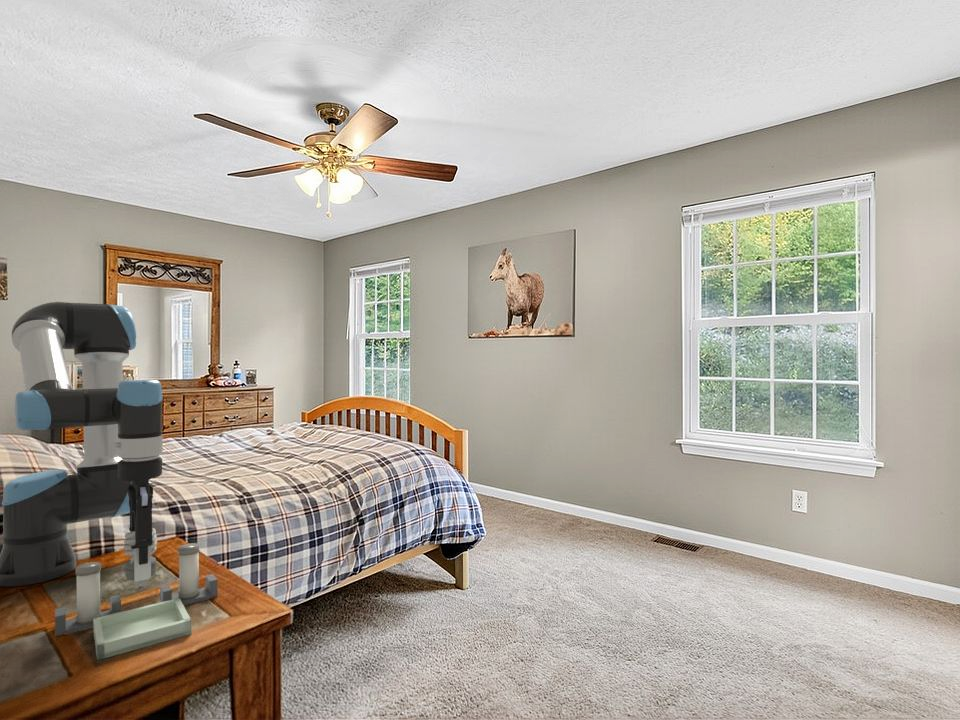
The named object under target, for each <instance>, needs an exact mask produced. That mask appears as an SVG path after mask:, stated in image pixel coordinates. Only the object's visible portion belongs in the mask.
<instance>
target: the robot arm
mask: <svg viewBox="0 0 960 720" xmlns="http://www.w3.org/2000/svg"><path fill="white" fill-rule="evenodd" d="M11 340H12V344H13V346H14V348H15V350H17V351H18V352H19V355H20V362H21V368H22V374H23V382H24V383H23V384H24V389H25V391H20V392H18V393H16V395H15V399H14V415H15V417H14V418H15V426H16V427H17V428H18V429H19V430H22V431H35V430H37V431H46V430H54V429H55V430H56V429H64V428H65V429H66V428H67V429H68V428H77V427H83V448H84V450H83V451H84V453H83V454H84V456H83V460H82V461H80V463H78V464H77V466H76V473H74V474H68V471H67V470H66V469H64V468H63V469H61V468H60V469H52V470H51V469H49V470H44V471H39V472H34V473H30V474H26V475H22V476H19V477H16V478H14V479H12V480H10V481H8V482H6V484H5V485H4V487H3V493H2V494H3V495H2V501H1V506H2V507H3V508H2V509H3V515H2V517H3V518H2V524H3V526H2V528H3V531H2V538H3V539H2V541H3V542H2V544H3V545H2V548H1V552H0V587H22V586H28V585H35V584H38V583H44V582H47V581H48V582H49V581H50V580H54V579H57V578H60V577H62V576H65V575H67V574H69V573H71V572H73V571H74V570H76V567H77V555H76V554H75V551H74V548H73V547H72V544H71V541H70V540H69V536H68V525H70V524H75V523H81V522H88V521H94V520H99V519H106V518H115V517H118V516H122V515H127V514H129V527H128V530H129V532H133V531H135V545H134V546H131V549H134V555H131V556H130V560H131V559H132V558H134V581H135V582H136V581H141V580H146V579H148V580H149V579H152V576H151V556H152V554H151V550H152V549H151V545H152V543H153V540H152V528H153V498H154V487H153V486H152V484H150V480H151V479H156V478H158V477H160V476H162V474H163V458H162V457H161V455H162V454H163V399H164V395H163V391H162V388H163V387H162V382H160V381H159V380H157V379H126V380H125V379H124V375H123V374H124V372H123V369H124V367H123V366H124V365H123V362H124V361H125V360H126V359H127V358H129V356H130V351H132V350H134V349H135V348H136V346H137V329H136V323H135V321H134V317H133V315H132V313H131V311H130V310H129V309H128V308H127V307H126V306H123V305H116V304H110V303H105V304H104V303H88V302H87V303H85V302H84V303H83V302H67V301H66V302H65V301H54V302H53V301H52V302H47V303H42V304H39V305H37V306H34V307H32V308H31V309H28V310H27V311H25V312H24V313H23V314H22V315H20V316H19V318H18V319H17V320H16V321H15V322H14V325H13V326H12V329H11ZM64 350H74V351H73V353H74V354H73V355H74V358H75V359H77V360H78V361H79V362H80V363H81V375H82V380H81V381H82V389H81V388H80V389H78V388H77V389H74V388H73V385H72V380H71V376H70V374H69V369H68V364H67V361H66V360H67V359H66V357H65V353H64Z"/></svg>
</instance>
